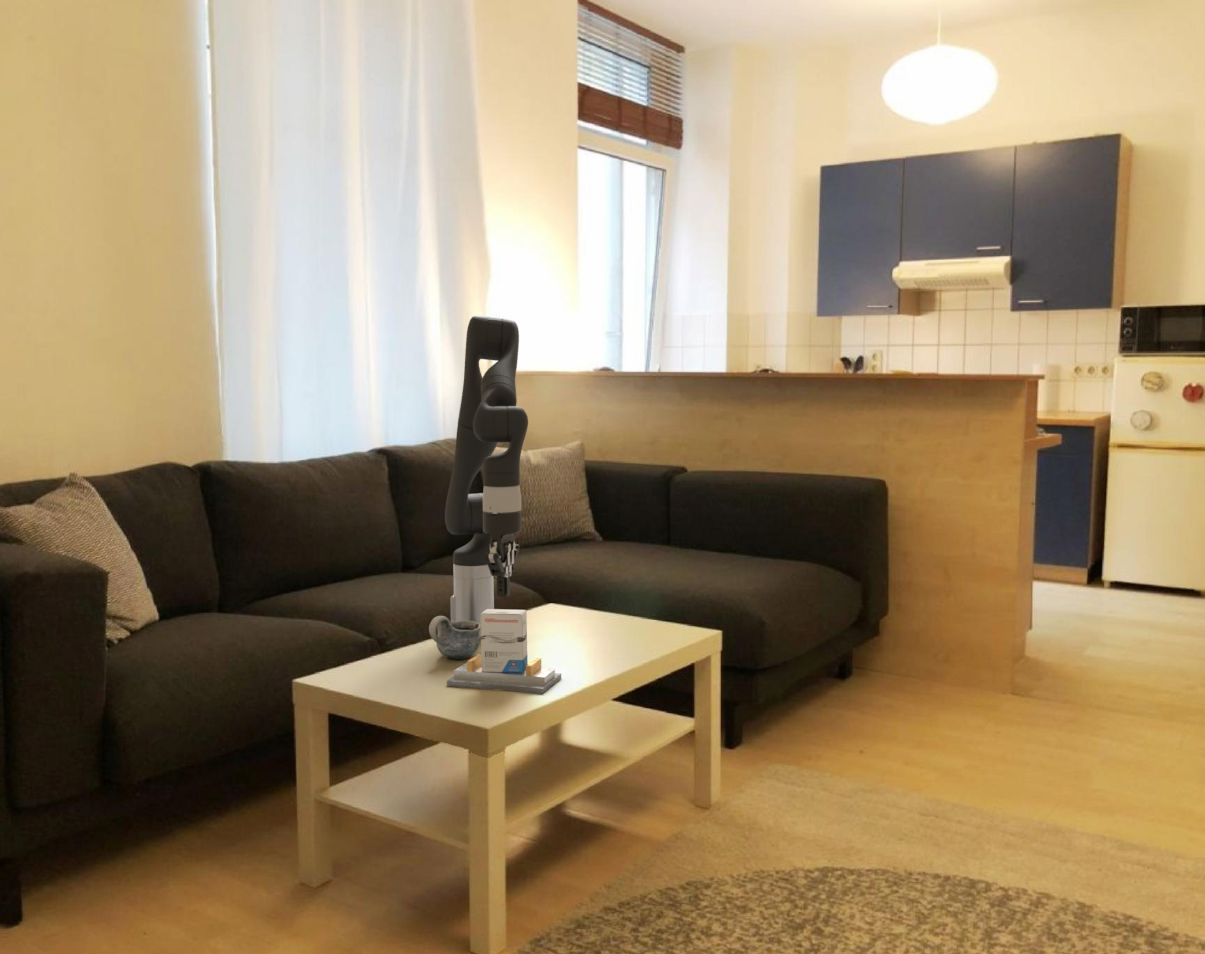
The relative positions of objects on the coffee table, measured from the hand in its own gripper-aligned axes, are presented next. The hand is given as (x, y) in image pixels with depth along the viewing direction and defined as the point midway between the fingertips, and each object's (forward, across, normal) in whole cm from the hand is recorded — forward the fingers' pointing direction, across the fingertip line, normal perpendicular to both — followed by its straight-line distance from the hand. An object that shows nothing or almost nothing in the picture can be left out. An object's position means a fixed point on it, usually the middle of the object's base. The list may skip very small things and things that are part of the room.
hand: (503, 595), depth 219 cm
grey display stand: (+17, 0, 0) cm, 17 cm away
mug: (+18, -14, -17) cm, 28 cm away
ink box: (+15, 0, 0) cm, 15 cm away
